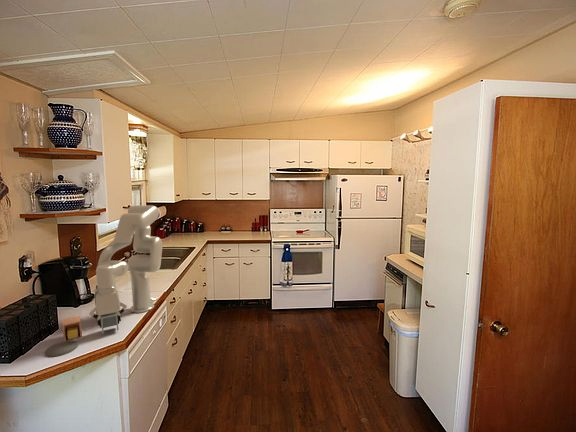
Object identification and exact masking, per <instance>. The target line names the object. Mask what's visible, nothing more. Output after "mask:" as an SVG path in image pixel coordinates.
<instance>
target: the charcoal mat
mask: <svg viewBox="0 0 576 432" xmlns="http://www.w3.org/2000/svg"><path fill="white" fill-rule="evenodd" d="M78 346H79V343H78V341H75V340H66V341H64V340H63V341H60V342H56V343H54V344H52V345H51V346H48V347H47V348H46V349H45V351H44V355H45V356H46V357H50V358H51V357H52V358H55V357H60V356H64V355H68V354H70V353H72V352H73V351H75V350H76V349H77V348H78Z"/></svg>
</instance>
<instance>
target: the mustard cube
mask: <svg viewBox="0 0 576 432" xmlns="http://www.w3.org/2000/svg"><path fill="white" fill-rule="evenodd" d="M67 334H68V335H67V340H70V339H74V338H78V337H79V333H78V329H77V326H75V327H70V328H67Z"/></svg>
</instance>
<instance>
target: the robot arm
mask: <svg viewBox="0 0 576 432" xmlns="http://www.w3.org/2000/svg"><path fill="white" fill-rule="evenodd" d="M159 216H160V210H159V208H158V207H157V206H155V205H150V204H149V205H142V204H141V205H132V206H129V207H128V209H127V213H123V214H122V215H120V217H119V220H118V224H117V228H116V231H115V234H114V238H113V240H112V241H111V242H110V243H109V244H108V245H106V247H105V248H104V249H103V250H102V252H101V253H100V255H99V259H98V262H97V266H96V268H95V276H96V285H97V287H98V288H97V289H96V288H95V289H94V290H93V292H94V294H95V292H96V293H98V294H97V295H96V305H95V307H94V308H93V309H91V310H90V311H89V312H88V314H89V316H91V317H93V318H94V319H96V320H97V325H98V327H100V329H102V328H101V316H102V315H106V314H111V313H117V318H118V325H119V324H120V322H121V321H122V319H121V315H122V314H123V313H124V312H125V310H126V309H127V308H128V306H127V305H126V304H124V303H122V302H121V301H120V294H119V292H118V290H116V278H117V277H122V276H124V275H126V274H127V272H128V271H129V275H130V283H131V284H130V285H131V295H132V306H130V309H129V310H130V312H132V313H134V314H135V313H136V314H137V313H145V312H148V311H151V310H153V309H154V307H155V304H154V302H156V301H158V300H159V297H157V296H156V297H151V284H150V276H149V273H157V272H158V271H159V270H160V268H161V264H162V254H163V242H162V239H161V238H160V237H158V236H153V235H152V234H151V232H152V231H151V230H152V227H151V225H152V224H153V223H154V222H155V221H156V220H157V219H158V218H159ZM151 235H152V236H151ZM132 242H133V244H132ZM131 244H132V245H133V246H132V248H133V251H134V252H136V253H138V254H136V255H132V256H130V258H128V261H124V260H111V259H112V256H114V254H116V252H118V251H119V250H122V249H123V248H126V247H128V246H130V245H131ZM139 253H141V254H139ZM143 253H144V254H143ZM147 254H149V255H147ZM96 313H97V315H96Z"/></svg>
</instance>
